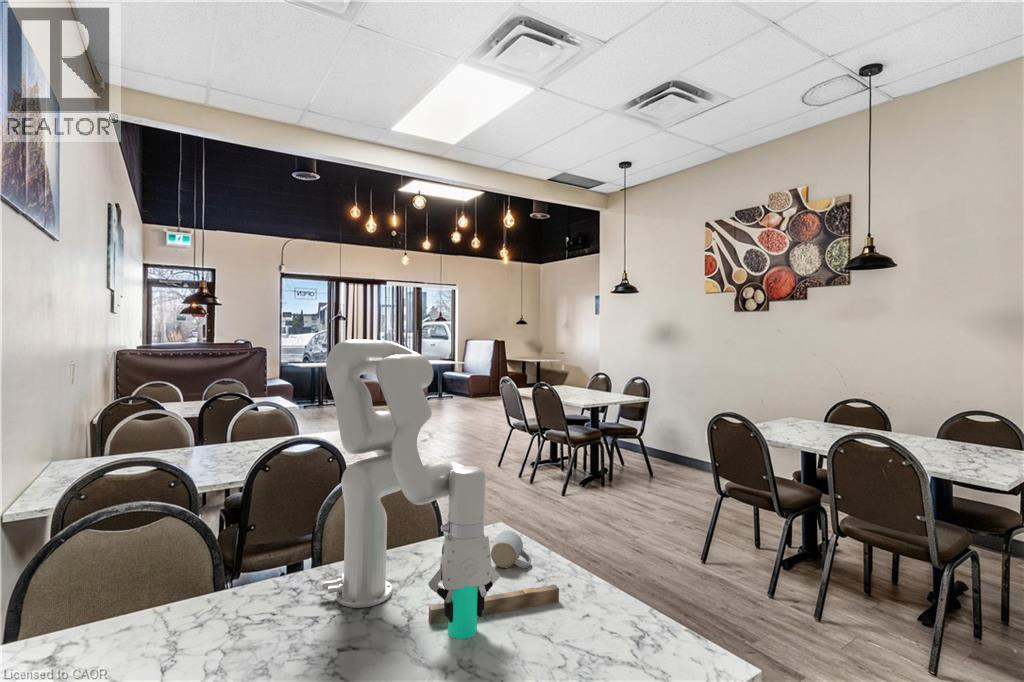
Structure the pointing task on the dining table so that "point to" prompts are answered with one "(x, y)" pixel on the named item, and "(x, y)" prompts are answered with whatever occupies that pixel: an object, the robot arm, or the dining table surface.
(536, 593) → the rail
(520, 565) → the ceramic mug
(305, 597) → the dining table surface
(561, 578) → the dining table surface
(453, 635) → the candle
